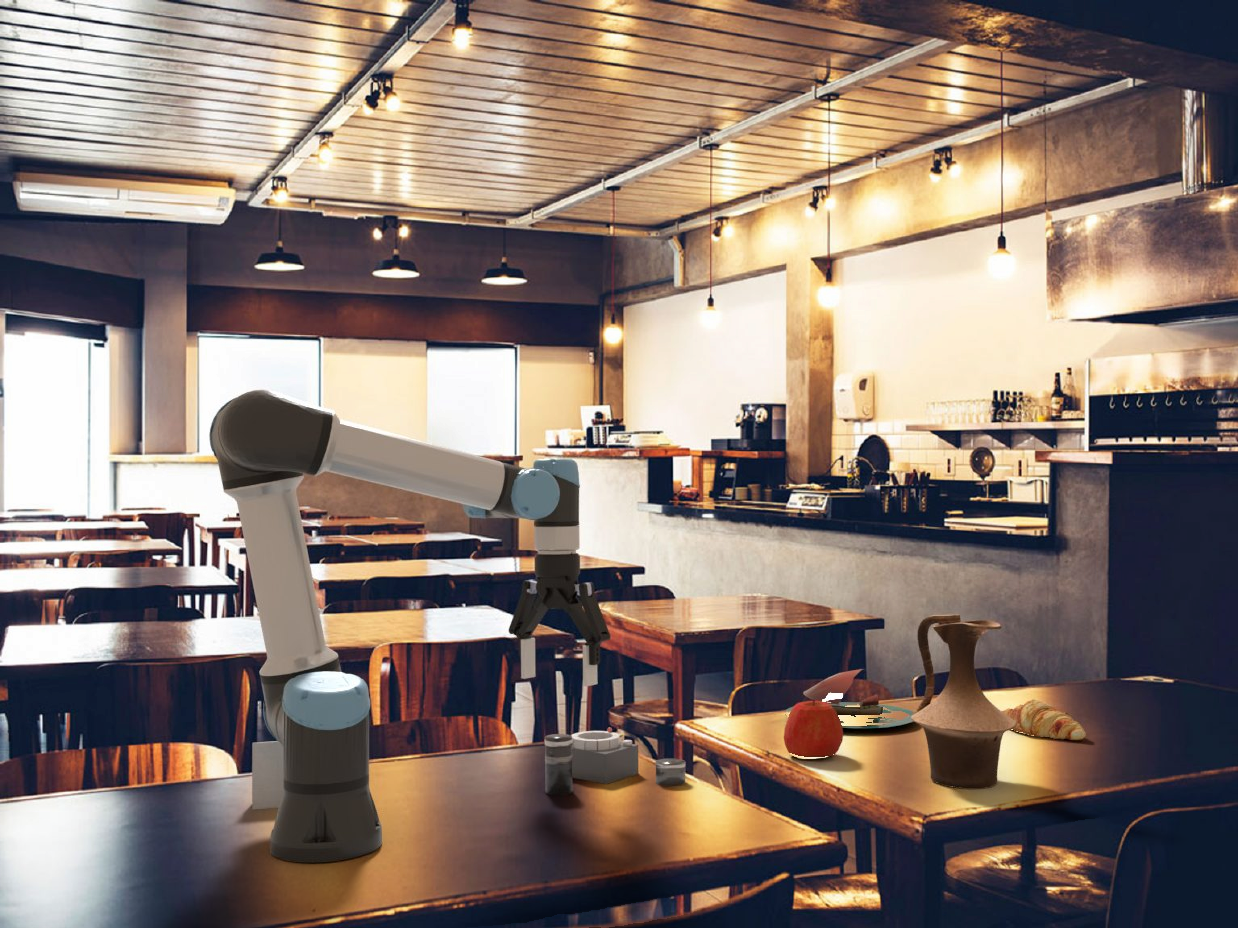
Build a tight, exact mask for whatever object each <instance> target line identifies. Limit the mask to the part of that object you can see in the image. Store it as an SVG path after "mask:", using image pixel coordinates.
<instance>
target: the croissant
mask: <svg viewBox="0 0 1238 928" xmlns="http://www.w3.org/2000/svg"><path fill="white" fill-rule="evenodd" d="M1001 711H1002V712H1003V713H1004V714H1006V715H1007V716H1008V717H1010V718H1011V719H1013V720H1014V721H1015V722H1016V727H1015V728H1013V730H1015V731H1018V732H1023V733H1026V734H1029V735H1034V736H1042V737H1050V738H1049V739H1052V738H1053V740H1055V739H1056V740H1064V739H1066V740H1069V741H1079V740H1080V741H1081V740H1083V739H1085V737H1086V735H1087V734H1086V731H1085V730H1084V728H1083V727H1082V725H1081V724H1080V723H1079V722H1078V721H1076V720H1074V719H1073V718H1072V717H1071V716H1070V714H1069V713H1068V712H1067V711H1061V710H1058V709H1056V708H1055V707H1054V706H1052V705H1051V704H1049V703H1047V702H1044V701H1041V700H1036V699H1031V700H1028V701H1026V702H1025V703H1023V704H1019V705H1017V706H1016V707H1014V708H1006V709H1004V710H1001ZM1015 731H1014V732H1015ZM1029 735H1028V736H1029Z"/></svg>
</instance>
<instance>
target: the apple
mask: <svg viewBox="0 0 1238 928" xmlns="http://www.w3.org/2000/svg"><path fill="white" fill-rule="evenodd" d="M792 707H793V708H792V710H791V712H790V714H789V717H787V721H786V723H785V726H784V732H783V741H784V746H785V748H786V751H787V752H788V753H792V754H795V755H798V756H804V757H825V756H831V755H833V754H834V755H836V754H837V753H838V751H839V749H840V747H841V745H842V743H843V740H844V738H843V737H844V731H843V727H842V725H841V722H840V719H839V717H838V715H837V713H836V711H835V710H834V708H833V707H832V706H831V705H830V704H829V703H827V702H823V701H815V699H813V700H805V702H803V701H802V702H797V703H796V704H795V705H793V706H792ZM834 755H833V756H834ZM831 757H832V756H831Z"/></svg>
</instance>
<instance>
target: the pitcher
mask: <svg viewBox="0 0 1238 928" xmlns="http://www.w3.org/2000/svg"><path fill="white" fill-rule="evenodd" d="M932 625H933V626H932ZM931 626H932V628H933V630H934V631H935V633H937V635H938V636H939V638H940V639H941V640H942V642H944V643H946V644H947V646H948V650H949V662H950V663H949V673H948V678H947V681H946V684H945V686H944V687H943V689H942V690H941V692H940V693H939V695H937V697H936V698H935V699H934V700H933V701H932V699H933V697H934V693H935V675H934V666H933V661H932V656H931V651H930V646H929V636H928V635H929V634H928V633H929V629H930V627H931ZM1000 629H1002V626H1001V624H1000V623H999V622H996V621H994V620H987V619H974V620H965V621H964V620H963V621H961V615H960V614H959V613H958V614H957V613H956V614H933V615H930V616H927V617H924V619H922V620H921V621H920V623H919V625H918V629H917V645H918V649H919V652H920V656H921V659H922V665H923V670H924V674H925V684H926V685H925V686H926V687H925V692H924V696H923V698H922V700H921V702H920V703H919V705H918V707H917V708H916V709H915V711H913V712H914V714H913V715H912V716H911V720H913V722H914V723H916V724H917V725H920V727H922V729H923V731H924V734H925V735H924V736H925V737H926V742H927V743H926V744H927V750H928V756H929V766H930V779H931V780H932V782H935V783H936V782H938V783H937V784H939V783H940V784H939V785H942V784H943V786H945V785H947V786H946V787H950V786H953V787H952V788H956V787H957V789H965V790H966V789H968V790H977V789H978V790H980V789H988V788H992V787H994V786H996V785H997V784H998V772H999V771H998V769H999V760H1000V751H1001V745H1002V739H1003V736H1004V733H1006V732H1008V731H1012V730H1011V729H1013V728H1015V727H1016V722H1015V721H1014V720H1013V719H1011V718H1010V717H1008V716H1007V715H1006V714H1004V713H1003V712H1002V711H1003V710H1000V709H999V708H998V707H996V705H995V704H993V703H992V702H991V701H990V699H988V698H987V697H986V695H985V694H984V692H983V690H982V688H981V686H980V685H979V681H978V679H977V676H976V670H975V654H976V652H975V651H976V647H977V643H978V641H979V639H980V638H981V636H983V635H985V633H987V632H988V631H990V630H991V631H992V630H1000Z"/></svg>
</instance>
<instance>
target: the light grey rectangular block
mask: <svg viewBox="0 0 1238 928" xmlns="http://www.w3.org/2000/svg"><path fill="white" fill-rule="evenodd" d="M251 746H252V747H251V748H252V751H251V752H252V756H251V759H252V760H251V761H252V763H251V764H252V765H251V773H252V774H251V777H252V778H251V779H252V781H251V789H252V791H251V792H252V793H251V797H252V798H251V802H252V803H251V809H252V810H264V809H277V808H278V809H279V807H280V803H281V800H282V797H283V789H284V778H283V745H282V744H281V743H279V742H278V741H277V740H275V741H261V742H258V741H257V742H252V745H251Z"/></svg>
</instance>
